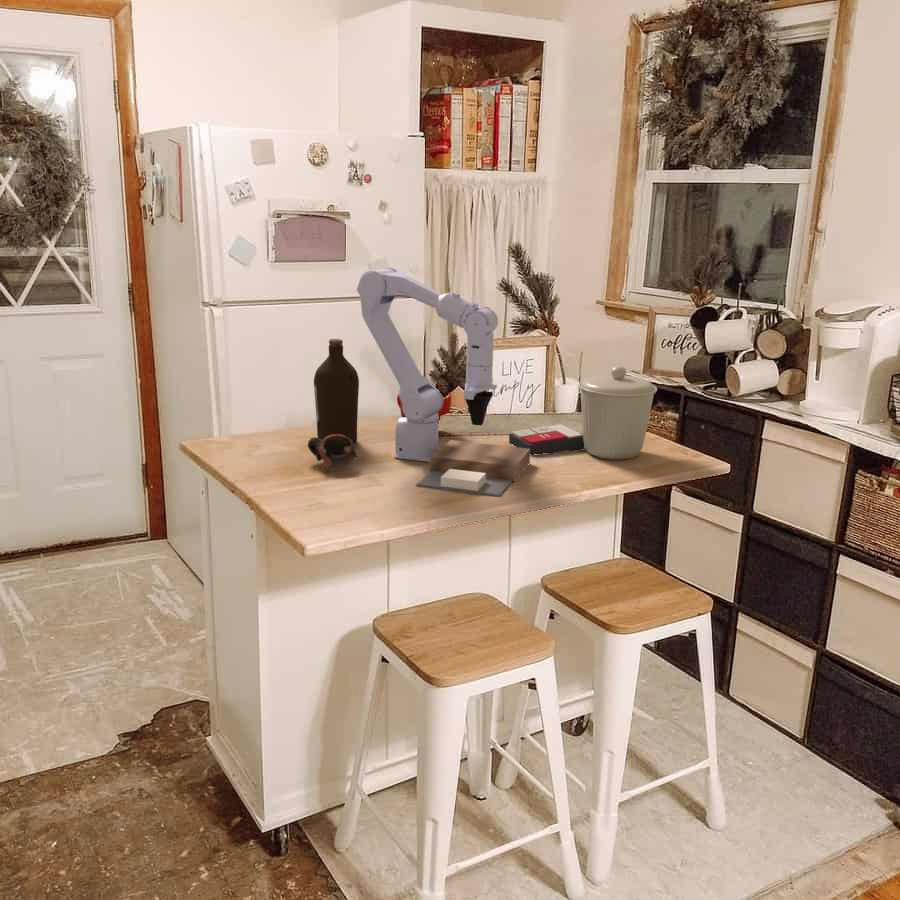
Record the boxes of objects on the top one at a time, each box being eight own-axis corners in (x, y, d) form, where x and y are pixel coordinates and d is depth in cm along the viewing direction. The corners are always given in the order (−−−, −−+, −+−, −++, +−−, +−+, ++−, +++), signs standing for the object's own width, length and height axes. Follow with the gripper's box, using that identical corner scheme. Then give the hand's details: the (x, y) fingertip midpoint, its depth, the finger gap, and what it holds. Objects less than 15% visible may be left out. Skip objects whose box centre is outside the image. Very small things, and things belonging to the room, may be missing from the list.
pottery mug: (363, 462, 203) (364, 438, 197) (345, 491, 197) (346, 466, 191) (315, 445, 205) (315, 419, 199) (296, 472, 199) (295, 447, 193)
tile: (449, 468, 191) (449, 477, 191) (440, 477, 185) (440, 486, 186) (486, 473, 188) (485, 482, 189) (477, 481, 183) (477, 490, 183)
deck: (430, 471, 196) (430, 456, 195) (450, 454, 209) (450, 439, 208) (514, 482, 191) (515, 466, 190) (529, 463, 203) (530, 448, 202)
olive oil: (363, 437, 221) (363, 337, 214) (353, 450, 211) (352, 344, 204) (321, 435, 222) (319, 335, 215) (309, 447, 212) (307, 342, 205)
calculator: (508, 430, 218) (561, 421, 224) (508, 447, 219) (561, 438, 225) (530, 442, 208) (585, 433, 214) (530, 459, 210) (585, 450, 215)
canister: (558, 451, 214) (563, 364, 207) (609, 439, 224) (615, 356, 218) (615, 470, 200) (622, 377, 194) (667, 456, 211) (675, 368, 205)
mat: (416, 485, 187) (416, 484, 187) (431, 472, 196) (431, 470, 196) (499, 496, 182) (499, 494, 181) (511, 482, 191) (511, 480, 190)
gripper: (486, 372, 188) (484, 434, 191) (506, 360, 201) (504, 418, 205) (455, 369, 190) (453, 430, 194) (476, 357, 203) (474, 415, 207)
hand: (477, 424), depth 199 cm, fingers closed
